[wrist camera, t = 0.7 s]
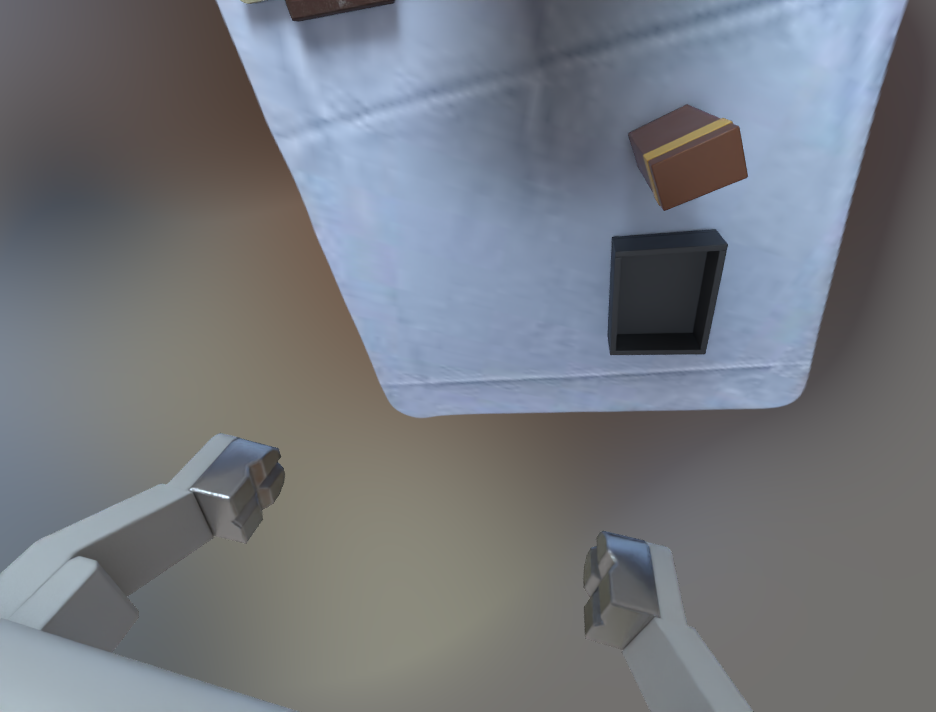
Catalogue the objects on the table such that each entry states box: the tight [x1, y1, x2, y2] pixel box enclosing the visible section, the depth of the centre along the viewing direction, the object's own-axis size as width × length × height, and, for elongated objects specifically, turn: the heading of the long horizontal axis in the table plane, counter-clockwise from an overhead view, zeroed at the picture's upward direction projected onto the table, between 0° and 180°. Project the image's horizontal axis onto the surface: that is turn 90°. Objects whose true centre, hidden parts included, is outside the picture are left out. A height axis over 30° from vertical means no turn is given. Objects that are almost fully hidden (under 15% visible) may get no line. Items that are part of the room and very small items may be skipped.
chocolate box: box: [628, 105, 748, 211], centre depth 32 cm, size 3×5×14 cm, turn 118°
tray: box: [608, 230, 728, 355], centre depth 44 cm, size 12×10×4 cm
